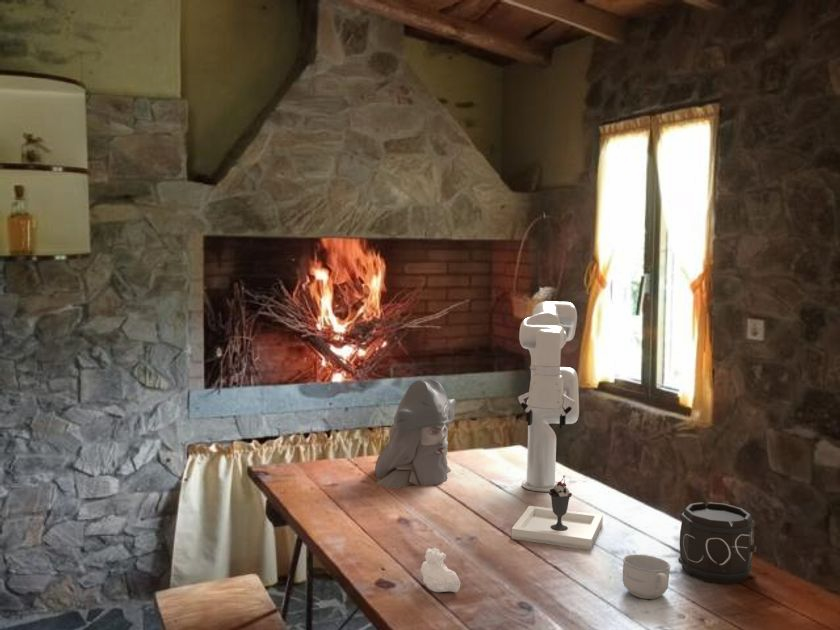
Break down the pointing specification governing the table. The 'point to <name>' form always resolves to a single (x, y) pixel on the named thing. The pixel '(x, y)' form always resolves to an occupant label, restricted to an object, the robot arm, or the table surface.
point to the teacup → (645, 575)
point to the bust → (418, 438)
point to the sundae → (560, 503)
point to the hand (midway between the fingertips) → (545, 425)
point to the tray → (538, 529)
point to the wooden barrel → (716, 542)
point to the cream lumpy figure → (438, 573)
